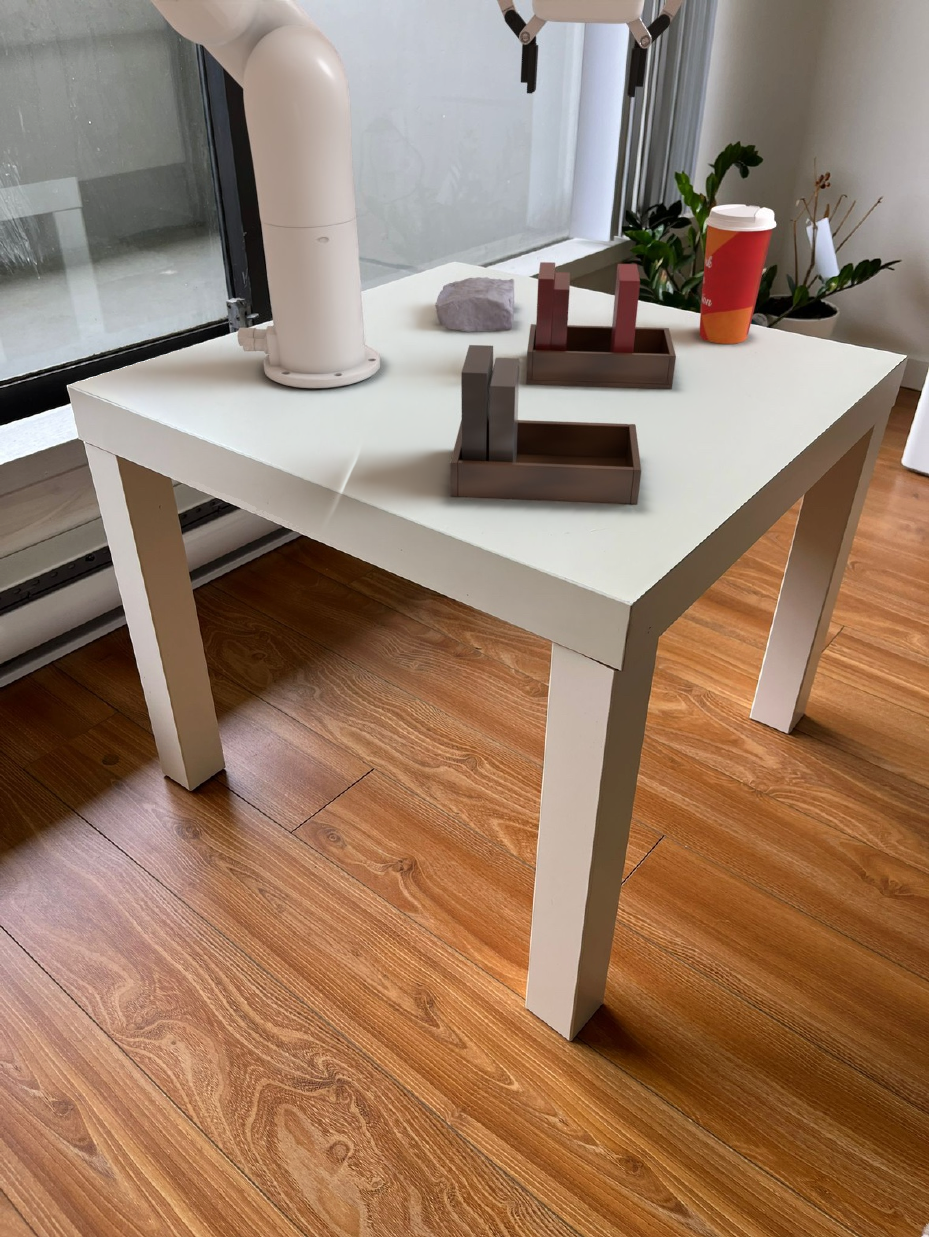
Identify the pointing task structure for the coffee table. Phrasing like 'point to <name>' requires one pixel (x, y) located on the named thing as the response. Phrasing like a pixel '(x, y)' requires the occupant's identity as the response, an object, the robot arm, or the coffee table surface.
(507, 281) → the stone block
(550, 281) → the brown open box
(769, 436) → the coffee table surface
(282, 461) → the coffee table surface
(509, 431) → the brown crate
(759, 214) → the paper cup
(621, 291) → the burgundy book
